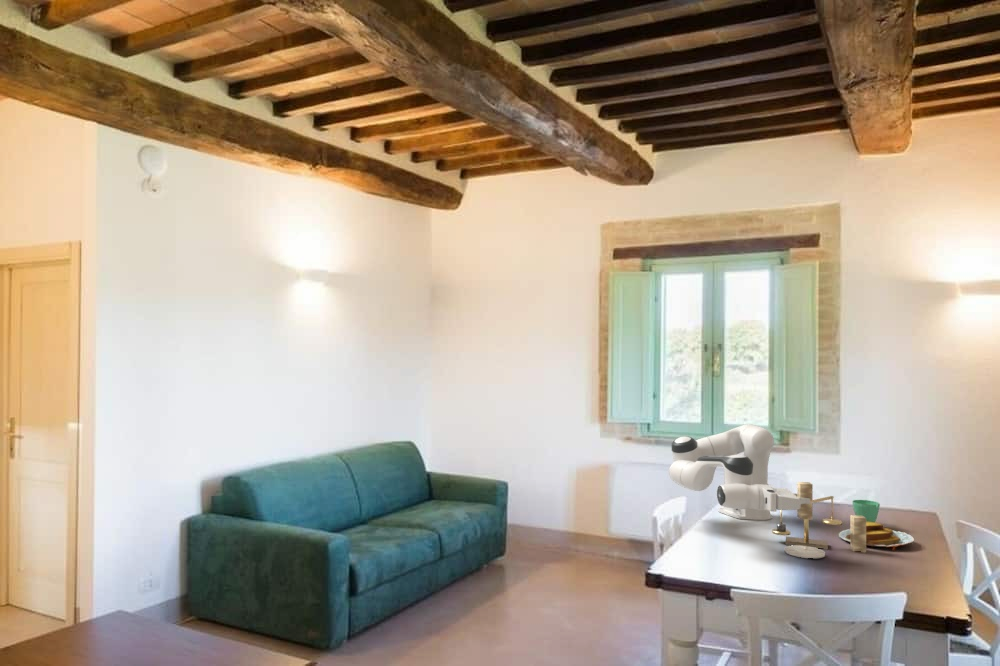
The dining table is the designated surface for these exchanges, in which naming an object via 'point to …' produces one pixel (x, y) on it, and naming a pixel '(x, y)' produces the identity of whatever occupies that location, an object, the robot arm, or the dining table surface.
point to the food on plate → (881, 536)
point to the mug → (866, 509)
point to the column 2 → (858, 533)
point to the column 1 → (805, 491)
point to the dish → (804, 551)
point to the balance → (807, 530)
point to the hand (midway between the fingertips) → (807, 499)
